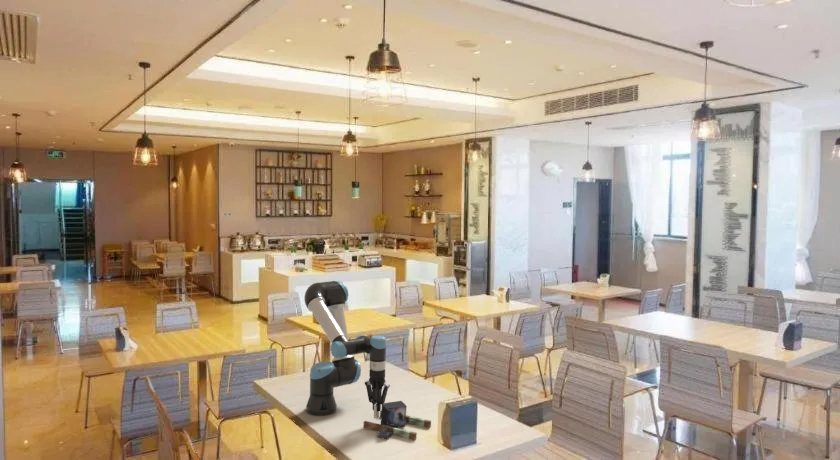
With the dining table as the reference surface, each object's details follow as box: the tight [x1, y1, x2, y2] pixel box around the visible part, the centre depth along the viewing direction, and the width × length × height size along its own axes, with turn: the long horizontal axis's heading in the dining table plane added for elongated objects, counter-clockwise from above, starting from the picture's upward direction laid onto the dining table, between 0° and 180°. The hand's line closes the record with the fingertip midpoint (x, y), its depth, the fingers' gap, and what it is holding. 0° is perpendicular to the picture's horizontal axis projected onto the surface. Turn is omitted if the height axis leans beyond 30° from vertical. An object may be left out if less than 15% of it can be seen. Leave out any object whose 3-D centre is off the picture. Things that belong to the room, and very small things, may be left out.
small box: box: [380, 400, 407, 429], centre depth 274 cm, size 11×6×10 cm, turn 116°
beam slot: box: [362, 409, 432, 441], centre depth 273 cm, size 27×17×3 cm, turn 64°
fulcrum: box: [377, 426, 393, 440], centre depth 262 cm, size 5×4×4 cm
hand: (376, 417), depth 277 cm, fingers closed
